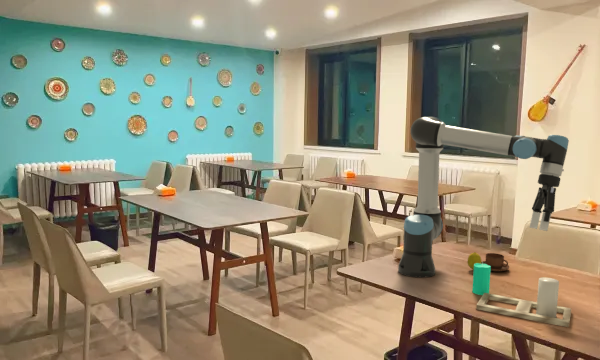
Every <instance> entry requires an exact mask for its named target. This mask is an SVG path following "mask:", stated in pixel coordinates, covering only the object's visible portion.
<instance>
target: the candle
mask: <svg viewBox="0 0 600 360" xmlns="http://www.w3.org/2000/svg"><path fill="white" fill-rule="evenodd" d="M481 262H482V264H480V263H476V264H474V270H472V271H473V272H472V273H473V275H472V288H471V289H472V290H471V292H472V293H473V294H475V295H478V296H483V294H484V293H489V294H490V288H491V287H490V285H491V283H490V282H491V272H492V271H491V266H489V265H487V264H483V260H481Z"/></svg>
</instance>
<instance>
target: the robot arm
mask: <svg viewBox="0 0 600 360" xmlns="http://www.w3.org/2000/svg"><path fill="white" fill-rule="evenodd" d="M410 135H411V138H412V140H413V141H414V142H415V149H416V151H418V174H417V175H418V176H417V177H418V178H417V202H416V203H417V206H416V207H415V208H414V209H413V214H412V215H409V216H406V217H405V219H404V224H403V248H402V255H401V258H400V260H399V262H398V263H399V264H398V266H397V269H398V273H400V275H403V276H406V277H412V278H430V277H431V278H432V277H433V276H435V275H436V266H435V262H434V260H433V259H434V258H433V256H432V255H433V241H434V240H436V239H437V238H438V237H439V236H440V235H441V234H442V231H443V227H444V226H443V220H442V211H441V209H440V208H439V206H438V203H439V202H438V201H439V179H440V178H439V176H440V175H439V174H440V172H439V171H440V152H442V151H443V150H444V145H445V146H451V147H458V148H464V149H469V150H475V151H480V152H487V153H493V154H496V155H497V154H498V155H503V156H509V157H514V158H518V159H521V160H528V159H530V158H537V159H542V161H541V166H540V169H539V173H540V174H539V175H538V180H537V183H538V184H539V185H541V187H538V190H537V194H536V197H535V199H534V202H533V205H532V208H531V210H532V214H531V219H530V222H529V223H530V225H529V228H531V229H534V230H535V229H536V230H538V229H539V230H540V231H546V232H548V231H549V230H548V229H549V226H550V225H549V224H550V220H551V216H552V214H553V213H554V212H555V204H556V203H555V201H556V192H557V188H558V187H559V186H560V184H561V183H560V182H561V177H562V174H563V172H565V170H564V165H565V162H566V161H565V160H566V156H567V152H568V146H569V142H570V141H569V138H568V137H566V136H563V135H559V134H549V135H548V136H547V138H545V139H544V138H538V137H532V136H525V135H509V134H502V133H497V132H496V133H495V132H491V131H484V130H478V129H472V128H471V129H470V128H465V127H459V126H453V125H446V123H445V122H444V121H443V120H441V119H440V118H438V117H436V116H422V117H419V118H417V119H416V120H414V121H413V123H412V125H411V126H410ZM540 217H541V220H540ZM539 222H540V223H539ZM538 225H539V228H538Z"/></svg>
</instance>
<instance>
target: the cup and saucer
mask: <svg viewBox="0 0 600 360" xmlns="http://www.w3.org/2000/svg"><path fill="white" fill-rule="evenodd" d="M482 261H483V260H482ZM482 261H481V264H482ZM504 262H505V263H504ZM483 264H487V265H489V266H491V272H505V271H508V270H509V269H510V266H509V262H508V261H507V260H506V259H505V256H504V255H503V254H499V253H494V252H489V253H486V254H485V260H484V261H483Z"/></svg>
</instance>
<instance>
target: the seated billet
mask: <svg viewBox="0 0 600 360" xmlns="http://www.w3.org/2000/svg"><path fill="white" fill-rule="evenodd" d="M537 283H538V285H537V295H536V296H537V299H536V302H537V308H535V310H536V311H535V314H537V315H543V316H548V317H553V318H557V313H558V312H557V306H558V298H559V289H560V288H559V287H560V281H559V280H558V279H556V278H553V277H552V278H551V277H539V278H538V282H537Z"/></svg>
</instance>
